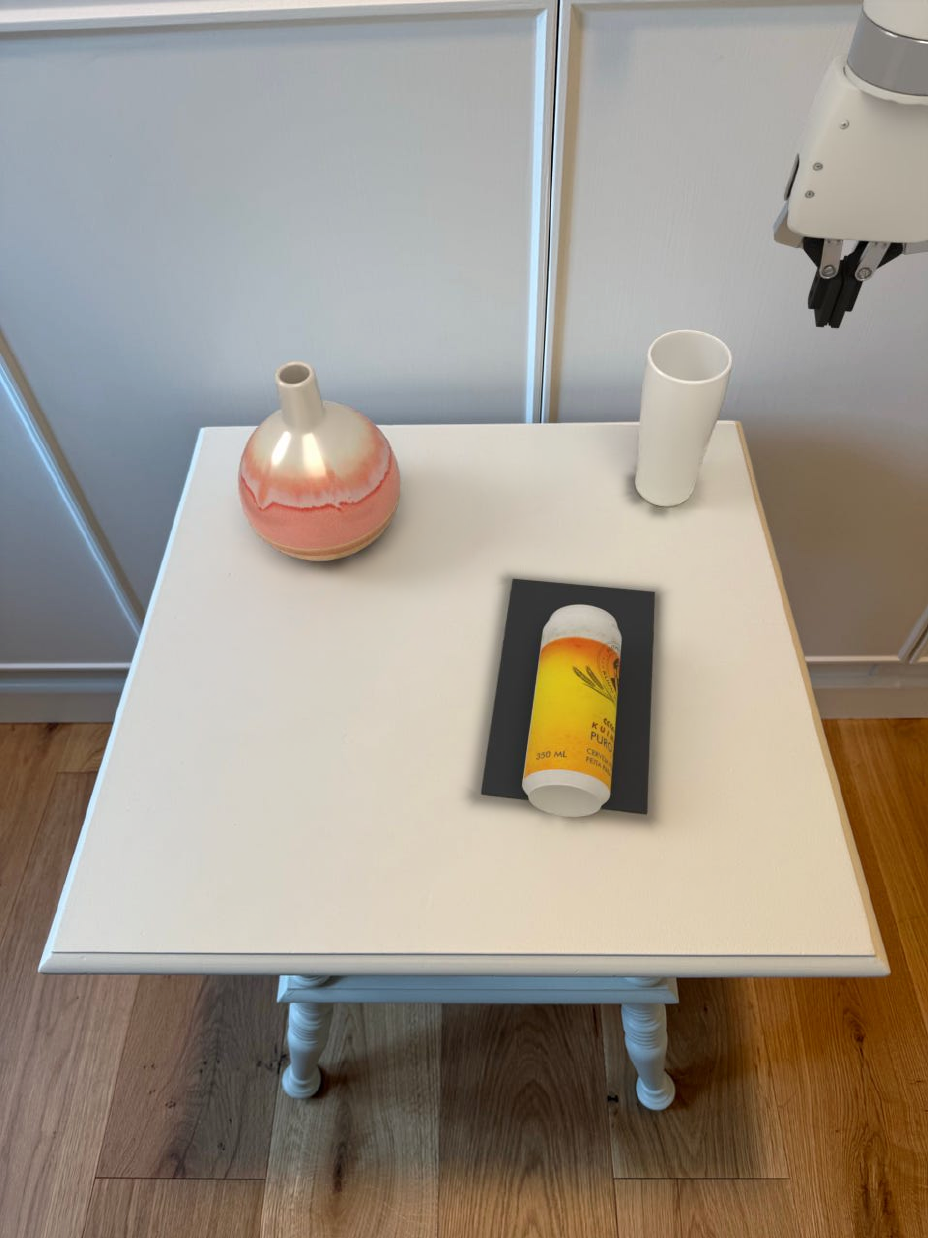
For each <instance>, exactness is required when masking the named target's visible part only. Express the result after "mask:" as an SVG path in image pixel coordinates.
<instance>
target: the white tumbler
mask: <svg viewBox="0 0 928 1238" xmlns="http://www.w3.org/2000/svg"><path fill="white" fill-rule="evenodd" d="M732 367H733V354H732V351H731V350H730V348H729V347H728V345H727V344H726V343H725V342H724V341H722V340H721V339H720V338H719V337H717V336H715V335H713V334H711V333H708V332H705V331H701V330H695V329H678V330H672V331H668V332H666V333H663V334H661V335H660V336H658V337H656V339H654V340H653V341H652V342H651V343H650V345H649V347H648V350H647V354H646V359H645V363H644V368H643V373H642V380H641V388H640V396H639V397H640V398H639V399H640V400H639V421H638V424H639V425H638V443H637V445H638V446H637V462H636V472H635V479H634V483H635V488H636V491H637V492H638V494H639V495H640V496H641V498H642V499H644V500H645V501H646V502H648V503H650V504H652V505H656V506H659V507H675V506H678V505H680V504H682V503H684V502H686V501H687V500H688V499H689V498H690V497H691V496H692V495H693V493H694V490H695V487H696V482H697V478H698V475H699V472H700V470H701V466H702V464H703V461H704V458H705V455H706V453H707V450H708V447H709V445H710V442H711V439H712V435H713V433H714V431H715V428H716V425H717V423H718V419H719V417H720V414H721V411H722V409H723V405H724V402H725V398H726V394H727V390H728V387H729V382H730V378H731V373H732Z"/></svg>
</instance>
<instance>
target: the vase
mask: <svg viewBox="0 0 928 1238" xmlns="http://www.w3.org/2000/svg"><path fill="white" fill-rule="evenodd" d="M274 384H275V387H276V393H277V396H278V401H279V406H280V408H279V409H278V410H275V411H274V412H272V414H270V415H269V416H268V417H266V418H265V419H264V420H263V421H262V422H261V423H260V424H259V425H258V426H257V427H256V428H255V430H254V431H253V432H252V434H251V435H250V437H249V438H248V440H247V441H246V443H245V446H244V448H243V451H242V454H241V456H240V460H239V465H238V471H237V489H238V496H239V501H240V504H241V508H242V511H243V513H244V515H245V518H246V519H247V521H248V523H249V525H250V527H251V528H252V529H253V531H254V532H255V533H256V534H257V536H259V538H260V539H261V540H263V541H264V542H265V543H266V544H268V545H269V546H270V547H271V548H273V549H275V550H277V551H279V552H280V553H282V554H285V555H288V556H290V557H293V558H295V559H299V560H303V561H304V560H305V561H314V562H324V561H325V562H327V561H334V560H339V559H343V558H346V557H349V556H351V555H353V554H357V553H358V552H360V551H362V550H364V549H365V548H367V547H368V546H369V545H371V544H372V543H374V541H376V540H377V539H378V538H379V537H380V536H381V535H382V533H384V532H385V531H386V529H387V527H388V526H389V524H390V523H391V522H392V520H393V518H394V516H395V514H396V511H397V509H398V505H399V501H400V497H401V484H402V483H401V474H400V468H399V462H398V460H397V457H396V454H395V452H394V449H393V447H392V445H391V444H390V442H389V440H388V439H387V437H386V436H385V434H384V433H383V432H382V430H381V429H380V427H378V426H377V425H376V423H374V422H373V421H372V420H371V419H370V418H369V417H367V416H366V415H364V414H363V413H361V412H359V411H358V410H356V409H354V408H352V407H350V406H348V405H345V404H342V403H338V402H335V401H331V400H324V399H322V394H321V389H320V386H319V382H318V378H317V374H316V371H315V369H314V367H313V366H312V365H311V364H310V363H308V362H305V361H303V360H302V361H301V360H293V361H289V362H285V363H284V364H282V365H281V366H279V367H278V368H277V369H276V371H275V374H274Z"/></svg>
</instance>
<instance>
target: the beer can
mask: <svg viewBox="0 0 928 1238" xmlns="http://www.w3.org/2000/svg"><path fill="white" fill-rule="evenodd" d="M621 641H622V637H621V633H620V631H619V629H618V627H617V623H616V621H615V619H614V618H613V616H611V615H610V614H609V613H608V612H606V611H604V610H602V609H600V608H597V607H594V606H589V605H570V606H566V607H563V608H560V609H558V610H557V611H555V612H554V613H553V614H552V616H551V617H550V620H549V621H548V623H547V624H546V625H545V627H544V629H543V634H542V641H541V649H540V656H539V664H538V671H537V679H536V686H535V693H534V701H533V708H532V716H531V723H530V731H529V738H528V745H527V753H526V760H525V768H524V775H523V783H522V787H523V790H524V791H525V793H526V794H527V795H528V798H529V800H528V801H529V802H530V804H532V805H533V806H534V807H535V808H537V809H538V810H541V812H545V813H547V814H551V815H554V816H555V815H556V816H560V817H568V818H578V817H579V818H580V817H587V816H591V815H594V814H595V813H598V812H599V811H600V810H601V809H600V808H601V806H602V805H603V804H604V803H605V802H607V800H608V799H609V797H610V789H611V776H612V762H613V749H614V736H615V722H616V709H617V695H618V682H619V668H620V655H621Z"/></svg>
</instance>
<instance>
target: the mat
mask: <svg viewBox="0 0 928 1238" xmlns="http://www.w3.org/2000/svg"><path fill="white" fill-rule="evenodd" d="M509 595H510V596H509V603H508V609H507V615H506V623H505V628H504V635H503V641H502V642H503V643H502V649H501V657H500V661H499V670H498V676H497V682H496V690H495V696H494V701H493V702H494V703H493V709H492V710H493V711H492V716H491V722H490V723H491V724H490V731H489V737H488V742H487V743H488V745H487V750H486V758H485V765H484V771H483V778H482V784H481V790H480V795H481V796H482V795H483V796H490V797H498V798H506V799H507V798H508V799H516V800H523V801H529V798H528V795H527V794H526V793H525V791H524V790H523V787H522V783H523V775H524V768H525V760H526V753H527V745H528V738H529V731H530V723H531V716H532V708H533V701H534V693H535V686H536V679H537V671H538V664H539V656H540V649H541V641H542V634H543V629H544V627H545V625H546V624H547V623H548V621H549V620H550V617H551V616H552V614H553V613H554V612H555V611H557V610H558V609H560V608H563V607H566V606H570V605H589V606H594V607H597V608H600V609H602V610H604V611H606V612H608V613H609V614H610V615H611V616H613V618H614V619H615V621H616V623H617V627H618V629H619V631H620V633H621V637H622V641H621V655H620V668H619V682H618V695H617V709H616V722H615V736H614V749H613V762H612V776H611V789H610V797H609V799H608V800H607V802H605V803H604V804H603V805H602V806H601V808H600V809H599V810H606V811H612V812H613V811H614V812H623V813H630V814H631V813H632V814H637V815H639V814H640V815H647V814H648V802H649V801H648V799H649V776H650V775H649V774H650V773H649V772H650V747H651V746H650V745H651V744H650V742H651V719H652V718H651V715H652V689H653V688H652V687H653V657H654V630H655V628H654V627H655V602H656V601H655V599H656V591H653V590H651V591H650V590H642V589H641V590H640V589H629V588H619V587H607V586H597V585H595V586H594V585H587V584H586V585H585V584H576V583H564V582H555V581H554V582H553V581H546V580H545V581H543V580H533V579H523V578H512V581H511V589H510V594H509Z"/></svg>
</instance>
